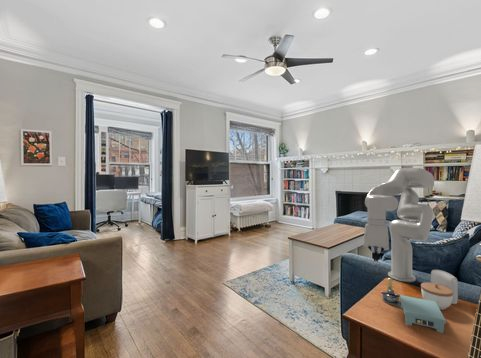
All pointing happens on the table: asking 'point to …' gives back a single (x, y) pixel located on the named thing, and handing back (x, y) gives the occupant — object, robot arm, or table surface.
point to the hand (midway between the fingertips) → (375, 260)
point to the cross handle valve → (390, 293)
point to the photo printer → (446, 282)
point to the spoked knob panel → (421, 312)
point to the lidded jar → (437, 294)
